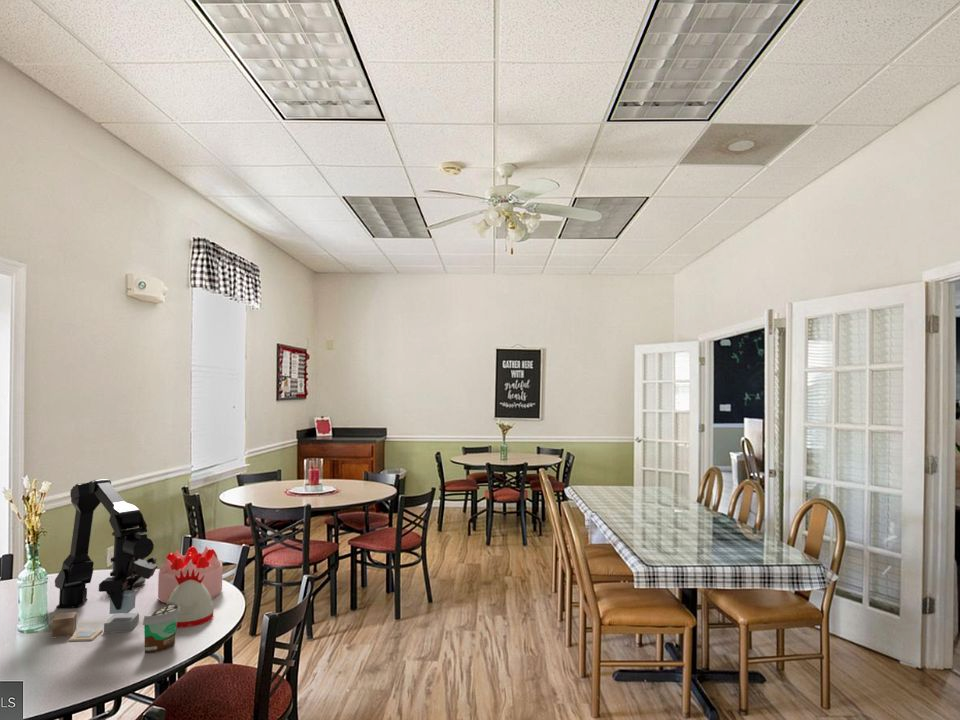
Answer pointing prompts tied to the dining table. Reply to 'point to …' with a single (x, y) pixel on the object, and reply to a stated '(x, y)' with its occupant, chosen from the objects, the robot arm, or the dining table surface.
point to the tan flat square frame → (85, 635)
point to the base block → (121, 622)
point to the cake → (190, 571)
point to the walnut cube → (64, 624)
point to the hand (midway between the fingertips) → (122, 606)
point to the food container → (161, 628)
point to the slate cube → (125, 603)
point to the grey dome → (191, 600)
